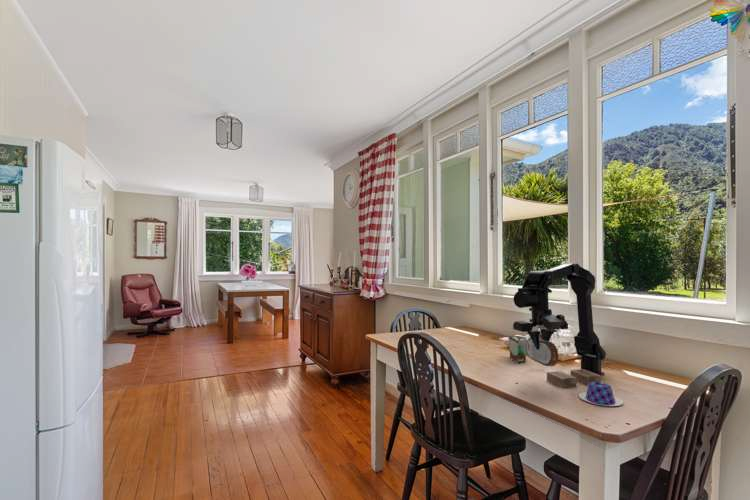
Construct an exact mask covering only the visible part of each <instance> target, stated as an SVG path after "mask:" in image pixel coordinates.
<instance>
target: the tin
mask: <svg viewBox="0 0 750 500" xmlns="http://www.w3.org/2000/svg"><path fill="white" fill-rule="evenodd" d="M526 356H527V357H528V358H529V359H531V360H532V361H534V362H536V363H538V364H541V365H542V366H545V367H554V366H556V365H557V363H558V361H559V351H558V348H557V346H556V344H554V343H553V342H552V341H550V340H549V341H547V340H544V339H542V338H541V337H539V350H537V349H536V348H535V346H534V343H533V341H532V339H531V338H530V337H529V338H528V339H527V342H526Z"/></svg>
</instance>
